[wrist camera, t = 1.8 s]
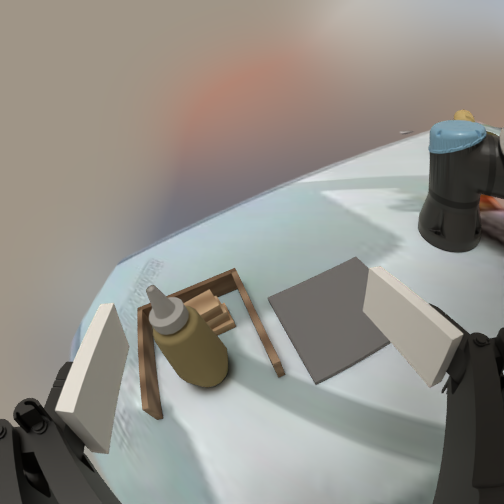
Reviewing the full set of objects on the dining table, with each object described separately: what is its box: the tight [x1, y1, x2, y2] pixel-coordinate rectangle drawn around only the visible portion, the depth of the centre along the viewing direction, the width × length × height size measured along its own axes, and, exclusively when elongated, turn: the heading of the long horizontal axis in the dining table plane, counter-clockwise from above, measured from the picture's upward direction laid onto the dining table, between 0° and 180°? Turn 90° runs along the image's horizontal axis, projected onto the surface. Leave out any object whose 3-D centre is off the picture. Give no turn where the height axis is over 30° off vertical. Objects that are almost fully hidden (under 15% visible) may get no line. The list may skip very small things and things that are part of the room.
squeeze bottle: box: [146, 285, 228, 387], centre depth 33 cm, size 8×8×18 cm
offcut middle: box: [206, 296, 230, 329], centre depth 44 cm, size 5×11×2 cm, turn 118°
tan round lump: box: [454, 110, 475, 122], centre depth 91 cm, size 12×12×11 cm
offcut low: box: [212, 303, 236, 336], centre depth 45 cm, size 5×12×2 cm, turn 113°
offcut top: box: [184, 289, 223, 322], centre depth 43 cm, size 4×10×2 cm, turn 118°
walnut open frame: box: [138, 268, 285, 420], centre depth 42 cm, size 22×20×4 cm
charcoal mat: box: [268, 257, 390, 385], centre depth 41 cm, size 18×18×1 cm
